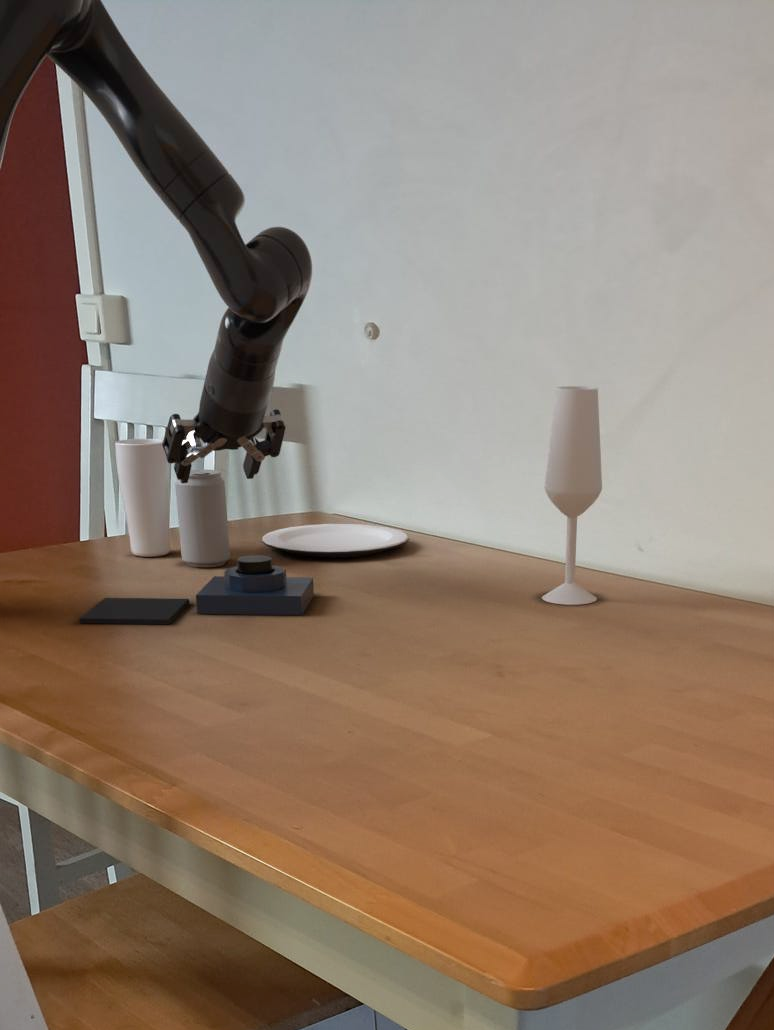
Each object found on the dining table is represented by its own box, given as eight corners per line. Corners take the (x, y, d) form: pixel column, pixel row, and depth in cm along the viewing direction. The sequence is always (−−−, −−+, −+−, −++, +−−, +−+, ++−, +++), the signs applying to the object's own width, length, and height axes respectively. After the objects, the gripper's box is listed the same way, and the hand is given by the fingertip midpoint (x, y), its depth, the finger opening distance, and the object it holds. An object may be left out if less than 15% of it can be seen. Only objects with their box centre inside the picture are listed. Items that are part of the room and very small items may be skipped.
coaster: (79, 623, 141) (78, 618, 141) (105, 602, 150) (104, 597, 150) (169, 624, 141) (168, 619, 141) (189, 603, 150) (189, 598, 150)
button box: (197, 614, 146) (194, 579, 144) (215, 594, 155) (212, 561, 153) (301, 615, 145) (300, 580, 144) (313, 595, 154) (312, 562, 153)
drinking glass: (117, 553, 177) (104, 441, 171) (160, 547, 181) (149, 437, 175) (141, 561, 172) (129, 445, 166) (185, 554, 177) (175, 441, 170)
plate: (297, 568, 169) (296, 555, 168) (240, 542, 185) (239, 530, 184) (434, 553, 179) (434, 541, 178) (369, 530, 195) (369, 518, 194)
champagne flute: (536, 593, 156) (541, 385, 147) (588, 591, 158) (597, 385, 148) (548, 605, 150) (555, 390, 141) (603, 603, 152) (613, 390, 142)
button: (234, 577, 147) (233, 562, 146) (241, 570, 150) (240, 555, 150) (269, 577, 147) (268, 562, 146) (275, 570, 150) (274, 555, 150)
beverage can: (192, 570, 167) (184, 476, 162) (175, 561, 172) (167, 470, 167) (237, 565, 170) (231, 472, 165) (220, 557, 175) (213, 466, 170)
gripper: (286, 358, 151) (260, 448, 165) (168, 361, 145) (151, 454, 159) (305, 409, 149) (277, 496, 163) (186, 414, 143) (167, 504, 157)
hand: (215, 475), depth 161 cm, fingers open, 8 cm apart
